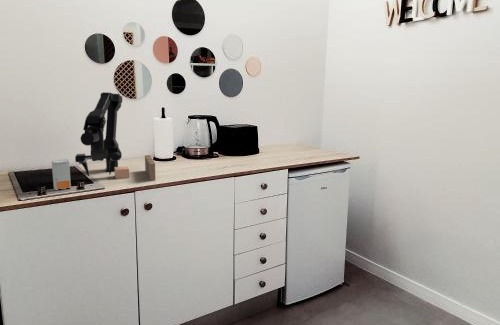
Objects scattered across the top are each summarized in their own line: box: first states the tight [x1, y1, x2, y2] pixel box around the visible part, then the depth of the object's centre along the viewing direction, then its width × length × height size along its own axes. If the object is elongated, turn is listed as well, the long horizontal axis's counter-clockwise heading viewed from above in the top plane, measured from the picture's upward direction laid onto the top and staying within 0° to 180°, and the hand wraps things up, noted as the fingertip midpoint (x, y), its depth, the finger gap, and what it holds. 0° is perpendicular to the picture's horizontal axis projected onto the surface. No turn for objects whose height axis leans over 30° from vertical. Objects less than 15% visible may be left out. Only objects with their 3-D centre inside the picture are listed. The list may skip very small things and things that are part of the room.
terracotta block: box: [114, 165, 130, 180], centre depth 173 cm, size 6×6×4 cm
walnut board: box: [144, 154, 156, 181], centre depth 177 cm, size 21×2×8 cm, turn 21°
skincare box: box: [51, 159, 72, 191], centre depth 151 cm, size 6×4×12 cm
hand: (99, 175), depth 170 cm, fingers open, 9 cm apart
